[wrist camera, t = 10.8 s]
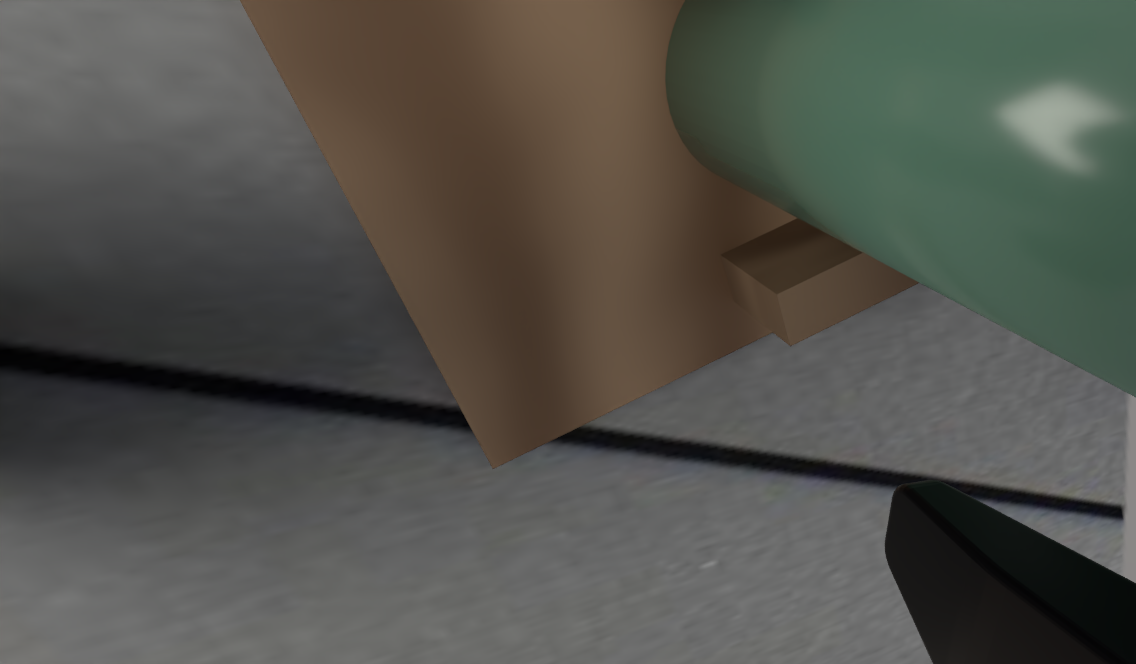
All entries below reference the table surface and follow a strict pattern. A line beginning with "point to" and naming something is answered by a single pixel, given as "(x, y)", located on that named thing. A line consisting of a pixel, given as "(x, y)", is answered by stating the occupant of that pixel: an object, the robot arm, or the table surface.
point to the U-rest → (549, 202)
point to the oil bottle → (939, 146)
